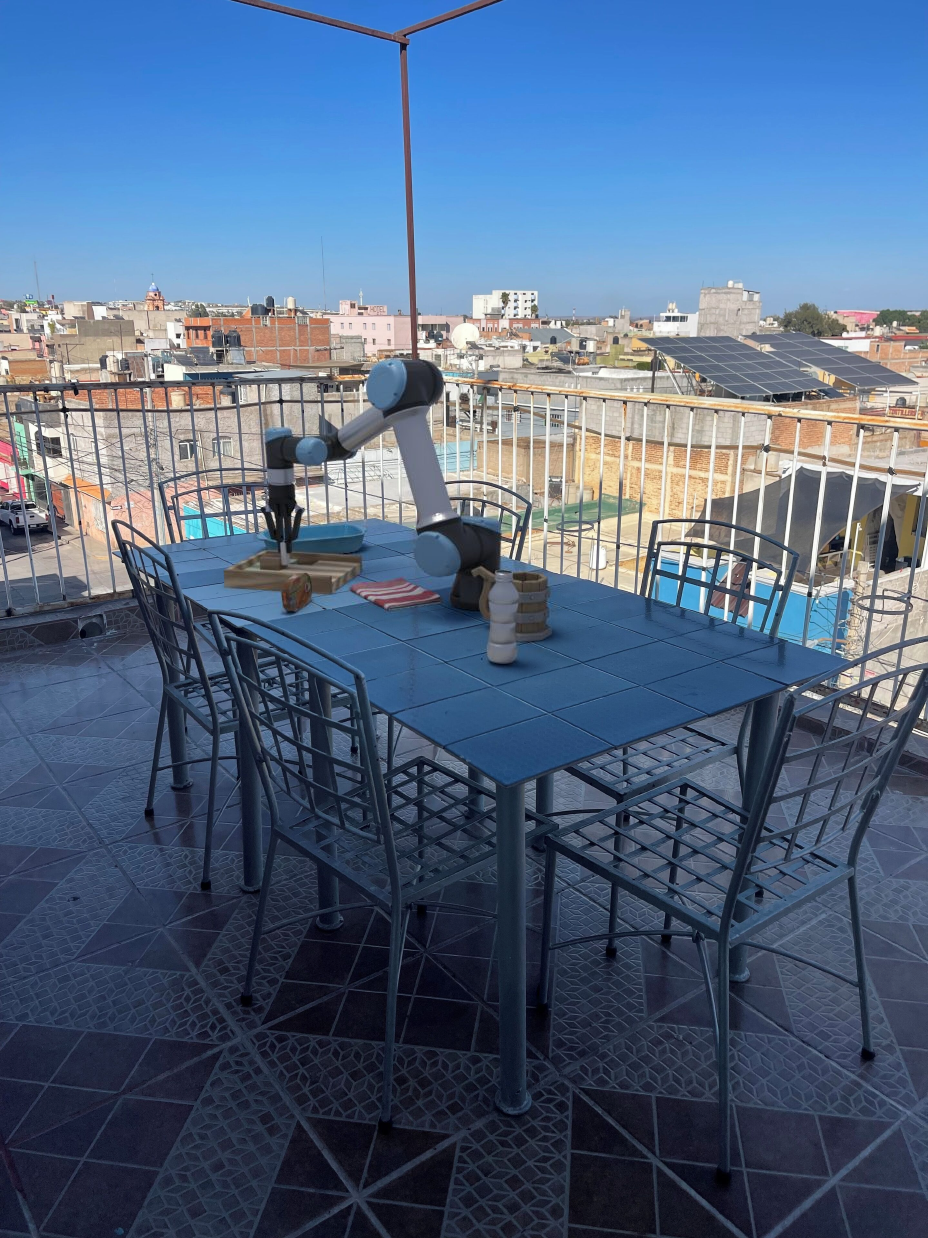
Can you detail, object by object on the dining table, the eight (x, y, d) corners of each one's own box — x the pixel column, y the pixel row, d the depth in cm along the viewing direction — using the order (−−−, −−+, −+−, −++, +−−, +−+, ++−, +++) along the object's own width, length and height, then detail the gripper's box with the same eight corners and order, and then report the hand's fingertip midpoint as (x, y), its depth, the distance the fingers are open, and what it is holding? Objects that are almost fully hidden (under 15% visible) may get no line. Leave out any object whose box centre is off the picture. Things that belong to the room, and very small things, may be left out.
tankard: (558, 630, 204) (560, 570, 200) (534, 645, 194) (537, 581, 189) (485, 617, 214) (486, 559, 209) (459, 630, 203) (460, 570, 199)
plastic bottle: (498, 654, 187) (500, 566, 181) (523, 661, 183) (526, 571, 177) (480, 662, 182) (481, 571, 177) (505, 669, 178) (507, 577, 172)
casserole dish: (264, 563, 269) (263, 541, 267) (252, 549, 288) (251, 528, 286) (376, 554, 283) (376, 533, 281) (357, 541, 302) (357, 521, 300)
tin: (291, 615, 214) (290, 583, 212) (280, 615, 215) (278, 582, 212) (313, 600, 228) (312, 569, 226) (302, 599, 229) (301, 568, 226)
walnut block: (279, 570, 246) (278, 559, 245) (260, 569, 247) (259, 557, 246) (287, 566, 252) (287, 554, 251) (269, 564, 253) (268, 553, 252)
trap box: (330, 594, 233) (329, 576, 232) (224, 587, 240) (223, 570, 238) (362, 571, 259) (361, 555, 257) (265, 565, 265) (264, 549, 263)
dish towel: (402, 584, 246) (402, 575, 245) (443, 604, 227) (443, 594, 226) (349, 592, 238) (348, 583, 237) (387, 613, 219) (387, 603, 218)
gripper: (307, 482, 244) (311, 562, 251) (265, 480, 246) (270, 559, 253) (297, 485, 237) (301, 568, 244) (254, 484, 239) (259, 565, 246)
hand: (285, 563), depth 248 cm, fingers closed
